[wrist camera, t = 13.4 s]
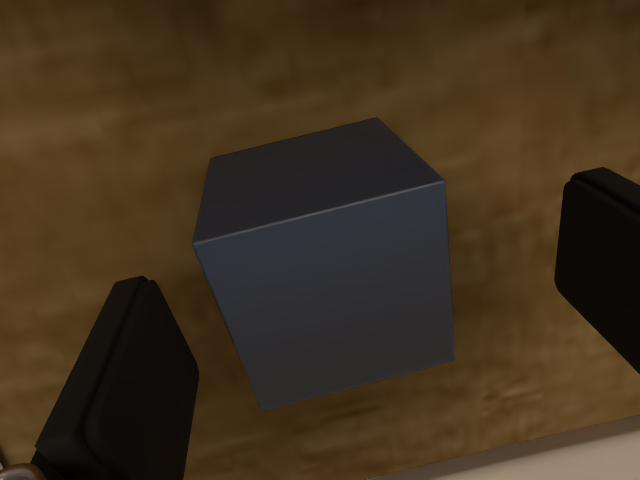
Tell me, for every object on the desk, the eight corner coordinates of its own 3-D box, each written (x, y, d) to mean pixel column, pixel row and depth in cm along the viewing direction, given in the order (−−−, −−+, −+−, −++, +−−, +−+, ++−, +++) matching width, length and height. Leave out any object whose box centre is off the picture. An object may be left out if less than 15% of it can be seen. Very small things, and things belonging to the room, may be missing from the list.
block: (256, 292, 15) (261, 412, 11) (209, 157, 12) (190, 243, 8) (396, 257, 15) (456, 361, 11) (377, 116, 13) (446, 179, 8)
